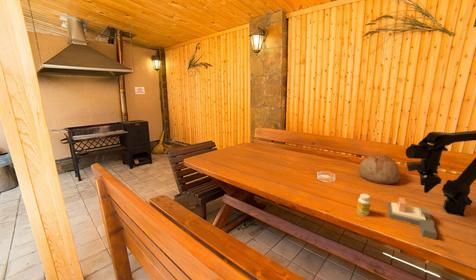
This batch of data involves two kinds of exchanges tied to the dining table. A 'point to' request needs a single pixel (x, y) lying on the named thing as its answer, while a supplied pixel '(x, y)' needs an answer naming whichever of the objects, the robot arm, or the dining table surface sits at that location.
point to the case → (417, 223)
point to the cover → (406, 210)
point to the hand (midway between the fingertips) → (423, 188)
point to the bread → (379, 169)
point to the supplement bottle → (363, 205)
